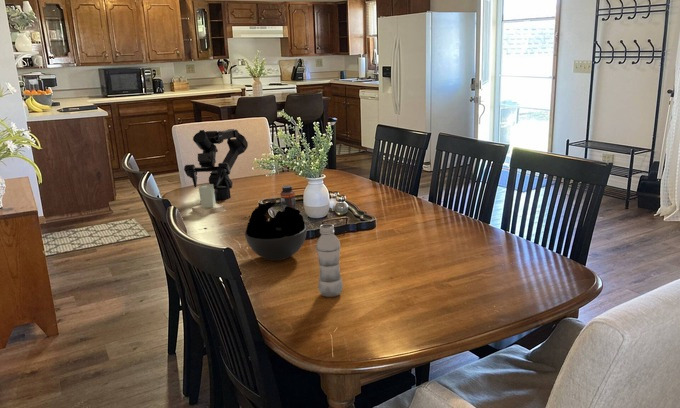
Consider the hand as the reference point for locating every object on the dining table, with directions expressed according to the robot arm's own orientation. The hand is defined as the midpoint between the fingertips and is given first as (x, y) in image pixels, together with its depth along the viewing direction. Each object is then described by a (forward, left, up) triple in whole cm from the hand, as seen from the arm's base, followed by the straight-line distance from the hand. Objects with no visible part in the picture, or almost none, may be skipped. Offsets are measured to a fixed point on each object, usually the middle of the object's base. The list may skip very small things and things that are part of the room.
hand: (205, 186), depth 241 cm
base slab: (0, 0, -13) cm, 13 cm away
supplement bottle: (-24, +26, -12) cm, 37 cm away
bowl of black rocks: (+8, +68, -12) cm, 69 cm away
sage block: (0, 0, -9) cm, 9 cm away
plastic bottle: (+13, +103, -12) cm, 104 cm away
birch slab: (0, 0, -11) cm, 11 cm away
